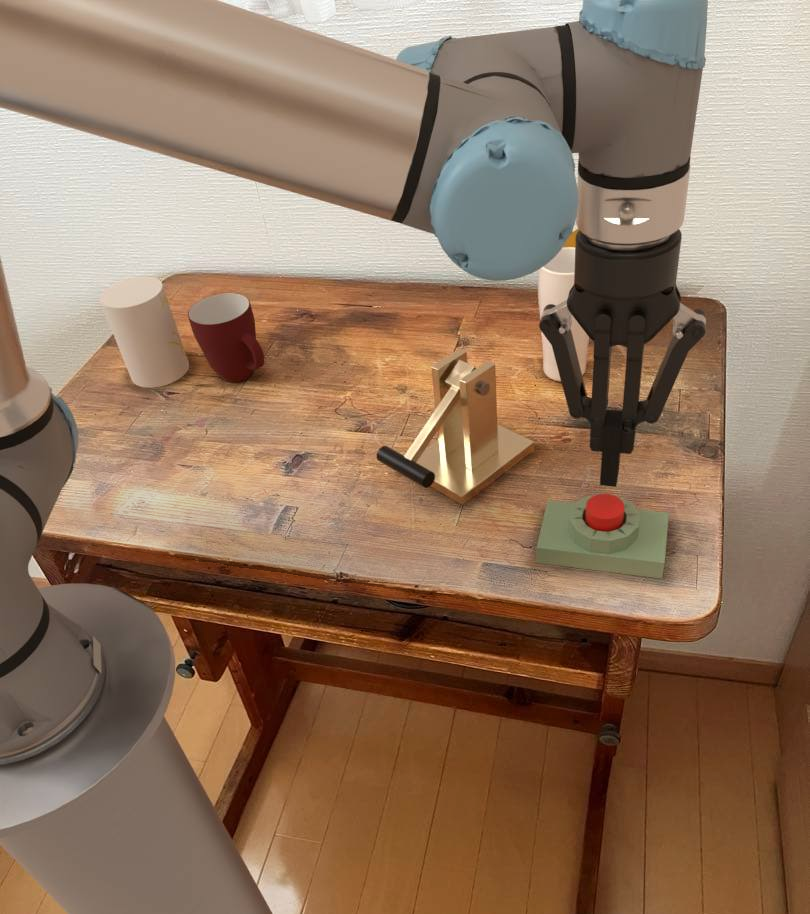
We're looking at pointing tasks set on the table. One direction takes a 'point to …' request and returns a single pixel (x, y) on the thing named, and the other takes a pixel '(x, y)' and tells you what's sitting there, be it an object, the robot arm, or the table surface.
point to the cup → (145, 331)
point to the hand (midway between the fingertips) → (609, 476)
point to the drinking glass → (555, 290)
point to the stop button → (604, 512)
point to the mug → (227, 335)
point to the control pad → (603, 540)
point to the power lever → (426, 433)
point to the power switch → (470, 434)
